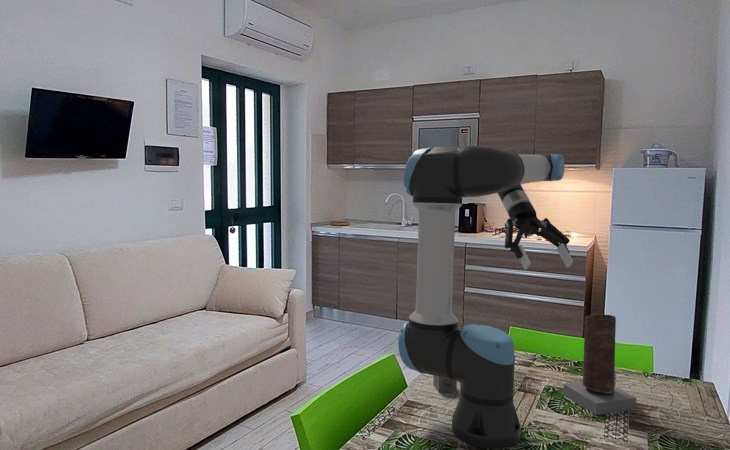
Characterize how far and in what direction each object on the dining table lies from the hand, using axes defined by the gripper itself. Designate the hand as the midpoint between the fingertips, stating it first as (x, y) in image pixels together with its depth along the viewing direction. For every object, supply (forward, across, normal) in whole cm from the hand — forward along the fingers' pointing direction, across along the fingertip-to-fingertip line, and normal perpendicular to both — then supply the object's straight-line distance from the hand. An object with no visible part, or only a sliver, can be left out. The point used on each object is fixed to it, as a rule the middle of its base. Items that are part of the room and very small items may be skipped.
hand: (549, 265), depth 134 cm
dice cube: (+21, +29, -27) cm, 45 cm away
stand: (+34, -6, -14) cm, 37 cm away
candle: (+31, -6, -12) cm, 34 cm away
